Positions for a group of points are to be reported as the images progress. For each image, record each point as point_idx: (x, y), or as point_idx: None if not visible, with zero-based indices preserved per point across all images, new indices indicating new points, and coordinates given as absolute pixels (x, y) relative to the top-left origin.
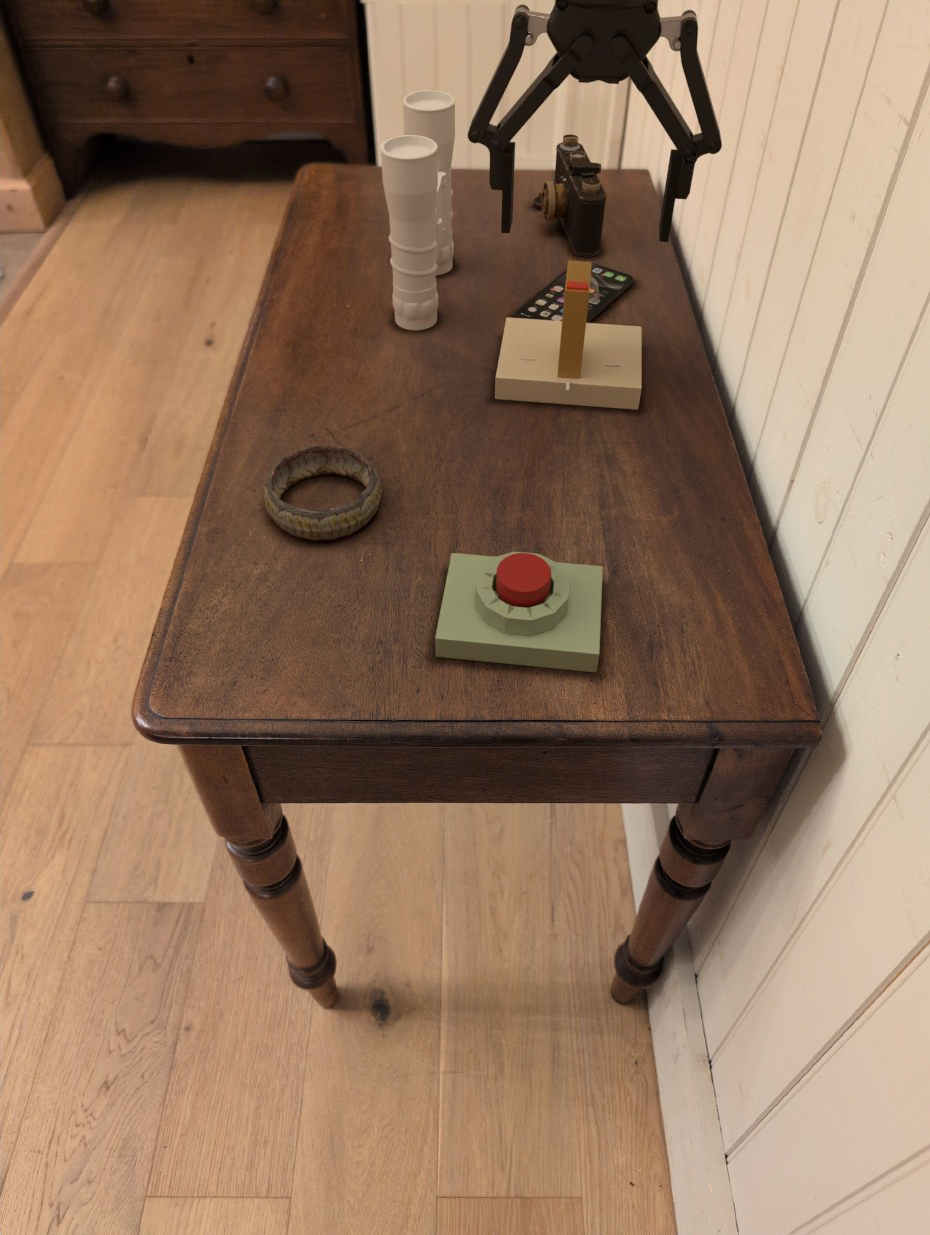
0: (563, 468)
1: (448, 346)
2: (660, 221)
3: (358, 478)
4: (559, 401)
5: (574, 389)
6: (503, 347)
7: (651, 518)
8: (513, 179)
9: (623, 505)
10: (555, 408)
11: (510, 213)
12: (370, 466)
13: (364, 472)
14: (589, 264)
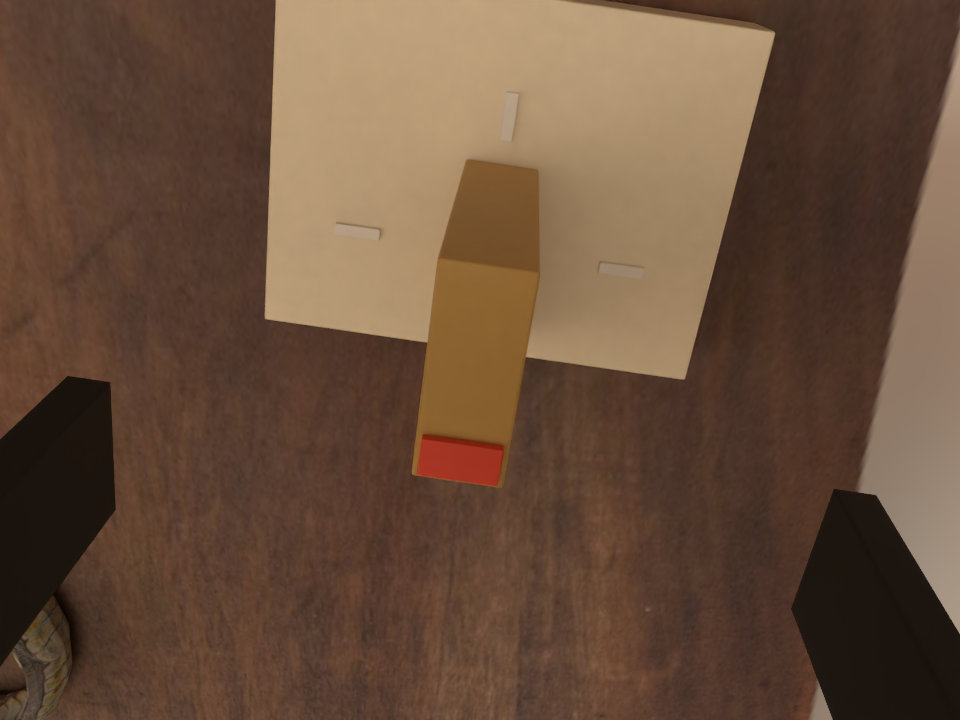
0: (454, 541)
1: (109, 3)
2: (836, 547)
3: None
4: None
5: None
6: (278, 163)
7: (620, 675)
8: (1, 529)
9: (570, 643)
10: None
11: (74, 560)
12: (16, 652)
13: None
14: (527, 295)
